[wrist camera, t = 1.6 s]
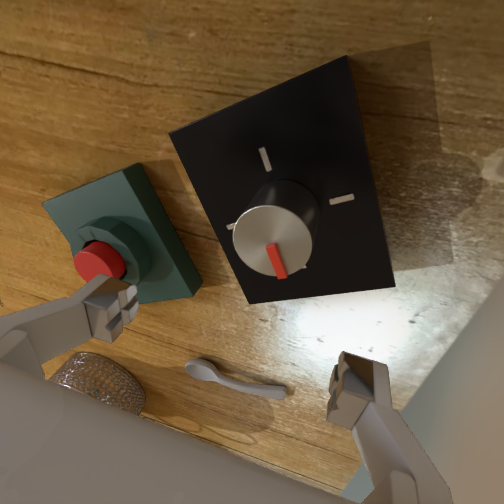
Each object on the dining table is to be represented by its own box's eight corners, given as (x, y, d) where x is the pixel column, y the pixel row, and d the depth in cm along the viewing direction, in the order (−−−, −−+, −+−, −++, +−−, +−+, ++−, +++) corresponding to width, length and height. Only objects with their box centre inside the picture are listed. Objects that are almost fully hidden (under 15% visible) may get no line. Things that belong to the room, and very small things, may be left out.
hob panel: (189, 124, 22) (166, 133, 19) (348, 55, 17) (346, 54, 14) (258, 282, 27) (248, 306, 25) (391, 262, 23) (396, 288, 20)
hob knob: (242, 190, 20) (217, 219, 16) (308, 170, 18) (296, 197, 14) (265, 248, 21) (248, 284, 18) (327, 235, 20) (321, 273, 16)
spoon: (188, 350, 35) (181, 365, 34) (289, 377, 34) (287, 393, 32) (188, 366, 37) (182, 380, 35) (284, 392, 36) (282, 408, 34)
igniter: (60, 194, 28) (22, 211, 25) (139, 162, 24) (105, 177, 21) (128, 294, 33) (103, 320, 30) (203, 282, 29) (184, 310, 26)
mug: (64, 339, 42) (-50, 447, 31) (181, 390, 41) (110, 526, 29) (73, 387, 50) (-15, 490, 38) (172, 432, 48) (113, 554, 36)
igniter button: (81, 245, 26) (65, 256, 24) (110, 236, 24) (95, 247, 23) (104, 279, 27) (90, 291, 26) (134, 273, 26) (121, 285, 24)
